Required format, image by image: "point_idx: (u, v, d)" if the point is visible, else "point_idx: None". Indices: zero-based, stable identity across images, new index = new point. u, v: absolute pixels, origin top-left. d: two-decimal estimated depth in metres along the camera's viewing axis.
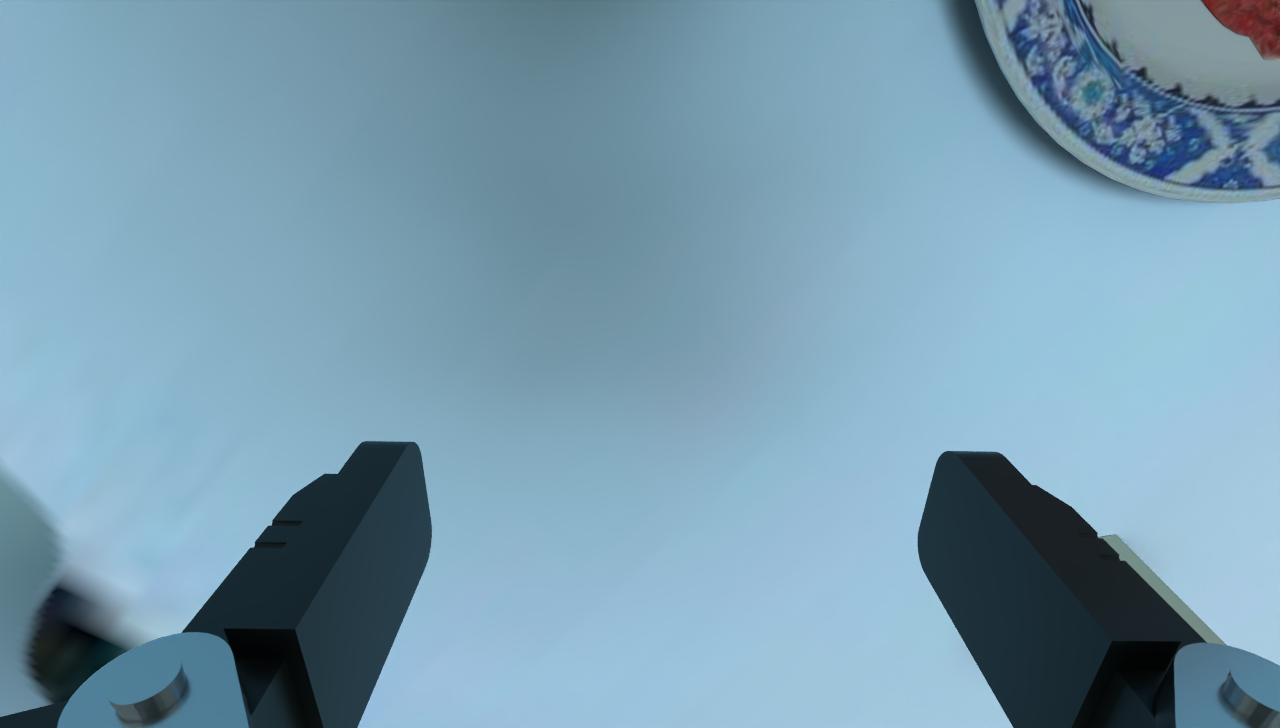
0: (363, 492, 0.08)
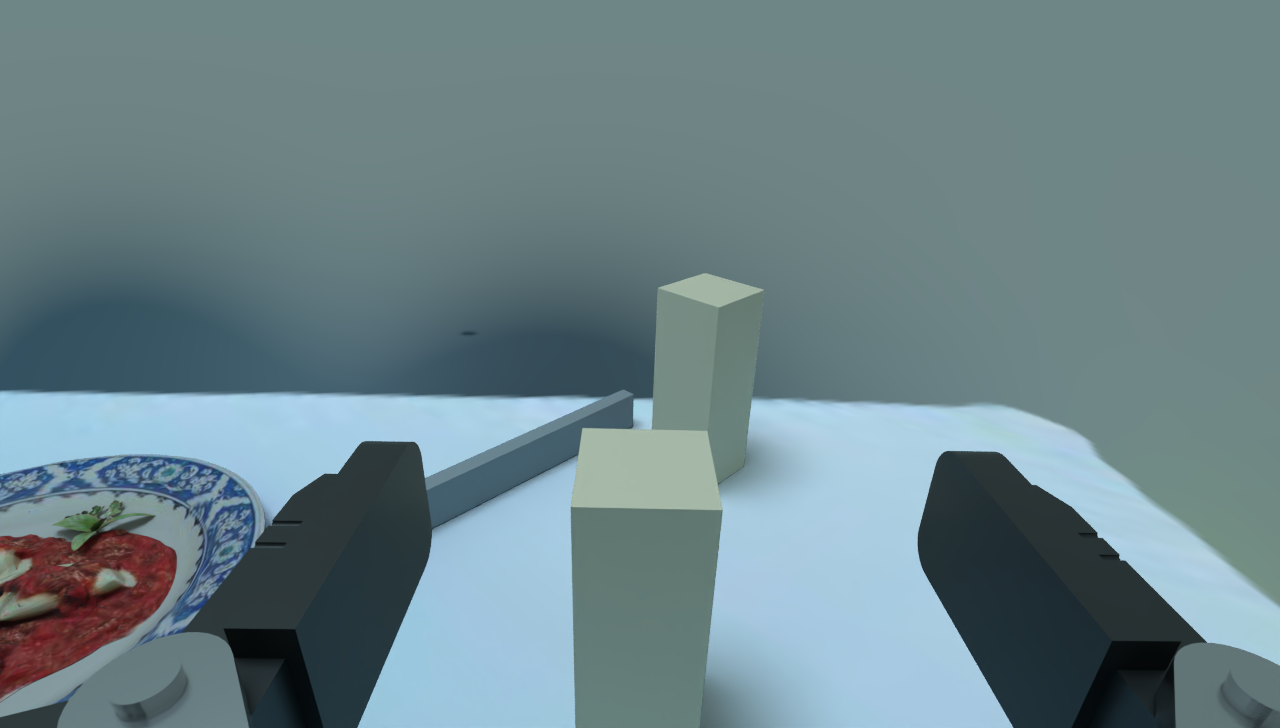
0: (363, 492, 0.08)
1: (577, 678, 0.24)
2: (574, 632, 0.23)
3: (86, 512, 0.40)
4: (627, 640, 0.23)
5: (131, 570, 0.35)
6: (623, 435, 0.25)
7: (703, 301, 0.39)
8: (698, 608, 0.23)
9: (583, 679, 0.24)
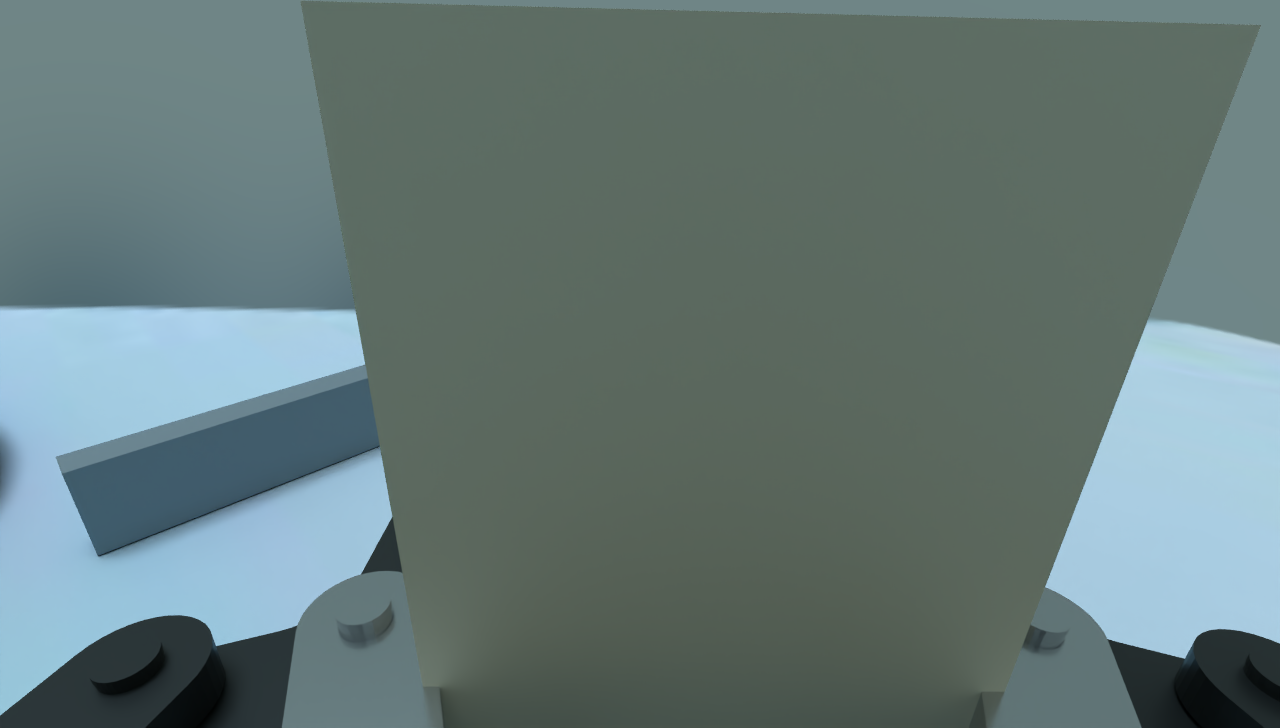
0: None
1: None
2: None
3: None
4: None
5: None
6: None
7: None
8: (965, 635, 0.05)
9: None
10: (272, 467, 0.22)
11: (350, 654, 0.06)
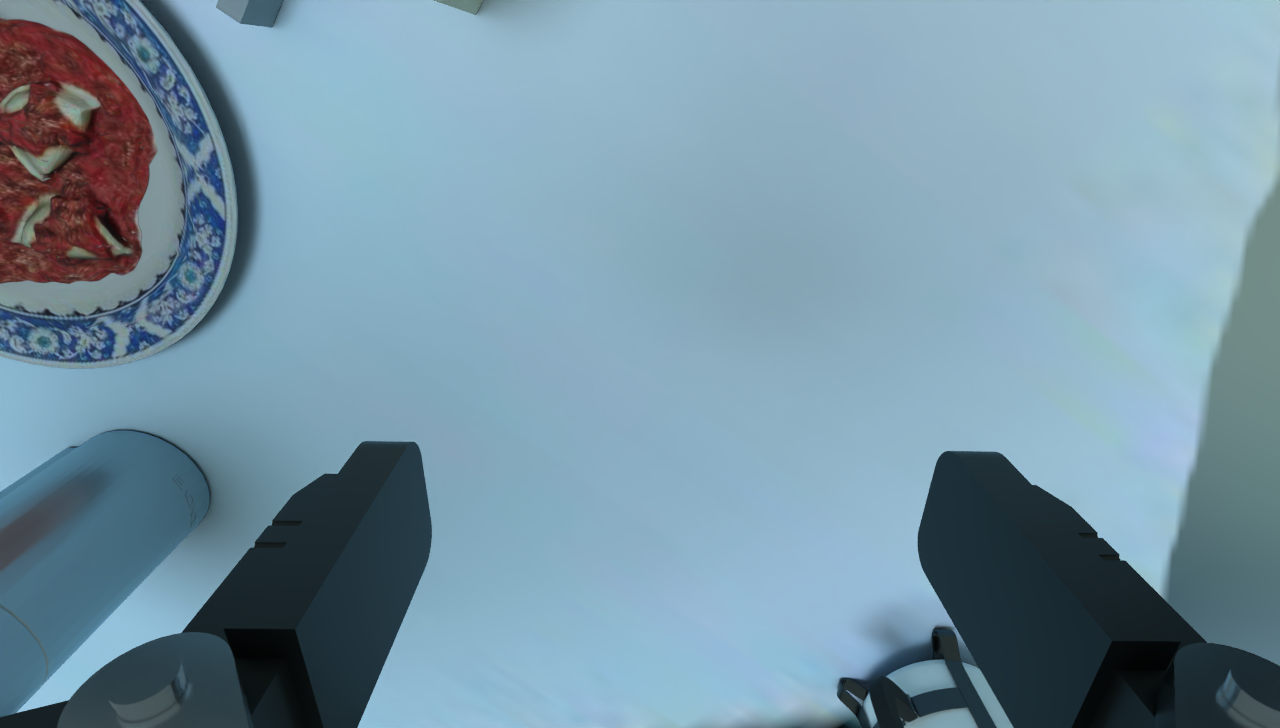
0: (363, 492, 0.08)
1: (446, 1, 0.28)
2: None
3: None
4: None
5: (71, 81, 0.34)
6: None
7: None
8: None
9: None
10: None
11: None
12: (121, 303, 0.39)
